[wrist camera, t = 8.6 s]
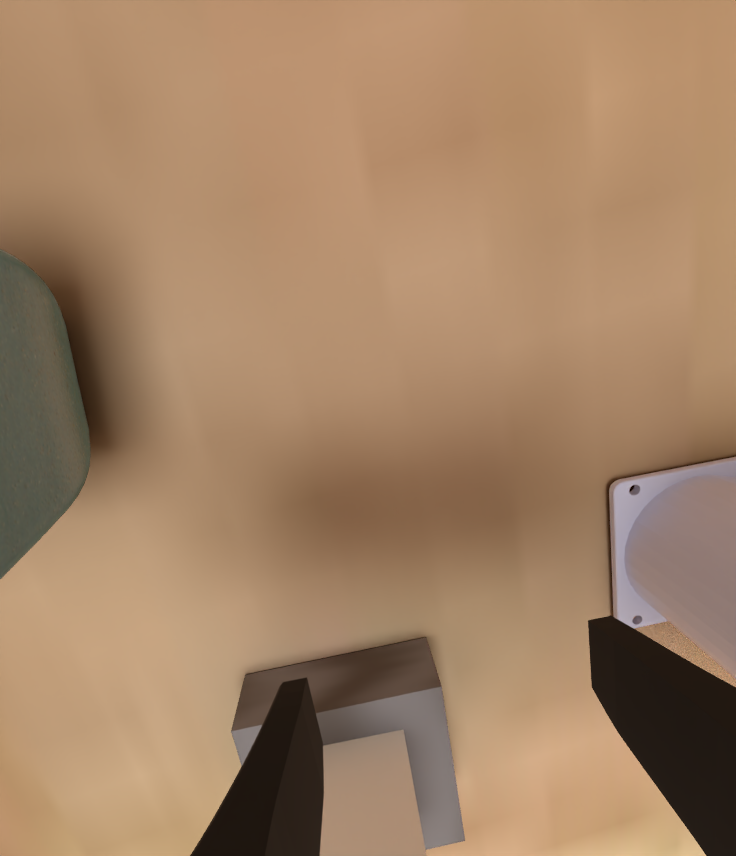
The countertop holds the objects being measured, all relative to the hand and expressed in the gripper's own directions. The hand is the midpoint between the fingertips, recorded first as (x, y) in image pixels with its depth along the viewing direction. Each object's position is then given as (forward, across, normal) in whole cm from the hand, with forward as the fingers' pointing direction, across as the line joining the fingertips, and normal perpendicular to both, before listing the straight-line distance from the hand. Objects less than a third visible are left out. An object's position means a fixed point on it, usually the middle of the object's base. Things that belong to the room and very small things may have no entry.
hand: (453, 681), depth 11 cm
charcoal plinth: (+9, +4, +11) cm, 15 cm away
